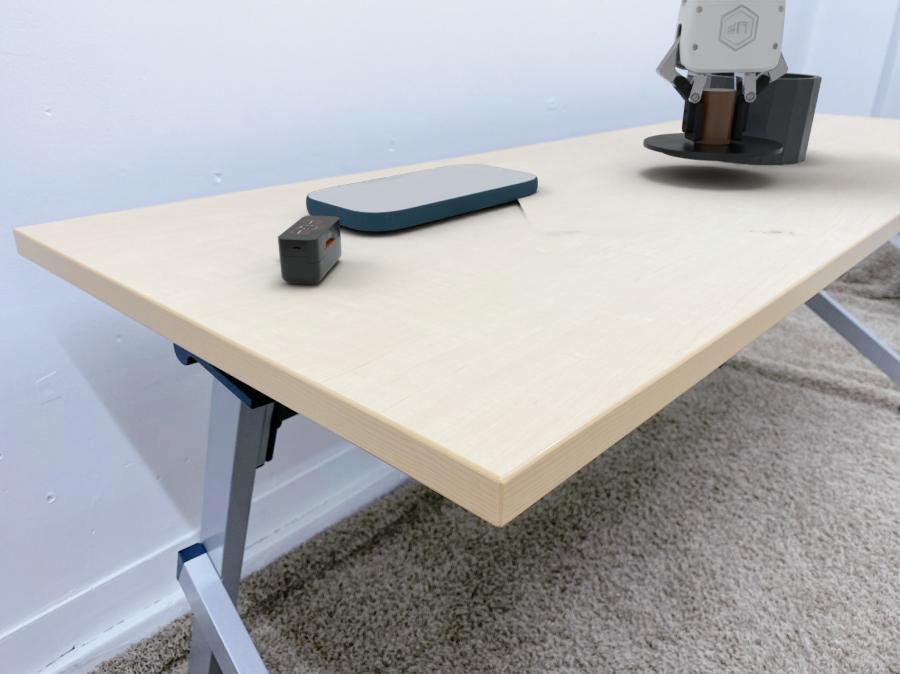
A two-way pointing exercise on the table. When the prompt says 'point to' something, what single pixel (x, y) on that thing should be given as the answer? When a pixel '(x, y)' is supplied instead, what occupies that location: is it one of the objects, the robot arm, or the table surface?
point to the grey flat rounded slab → (420, 196)
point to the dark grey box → (309, 249)
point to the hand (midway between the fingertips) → (712, 137)
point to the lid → (715, 135)
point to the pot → (778, 114)
